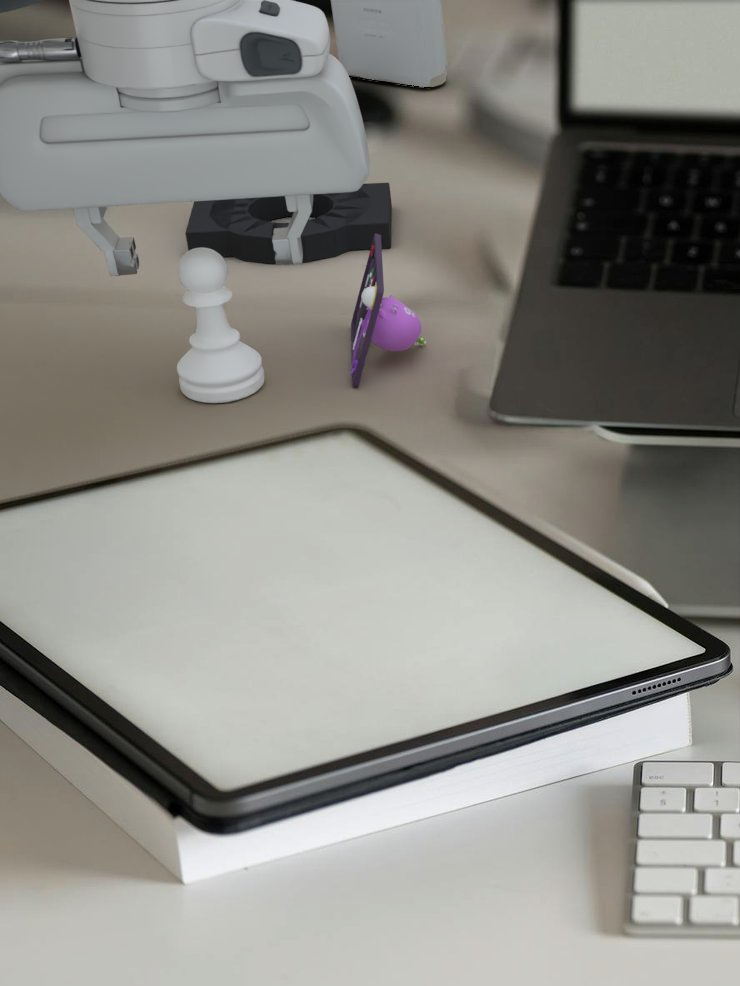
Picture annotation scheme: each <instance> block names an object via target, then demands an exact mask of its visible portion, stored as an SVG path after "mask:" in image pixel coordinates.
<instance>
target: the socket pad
mask: <svg viewBox="0 0 740 986" xmlns="http://www.w3.org/2000/svg"><path fill="white" fill-rule="evenodd" d="M390 187H391V185H390V182H372V183H363V185H362V186H361V187H360V189H359V190H357V191H355V192H345V193H328V194H313V197H314V198H313V207H312V212H311V214H310V217H311V218H309V219H308V221H307V223H306V225H305V227H304V229H303V232H302V234H301V236H300V237H301V243H302V250H303V259H302V263H308V262H309V263H310V262H313V261H319V260H323V259H327V258H332V257H337V256H339V255H342V254H344V253H346V252H348V251H360V250H362V251H363V250H371V246H372V242H373V238H374V235H375V234H379V235H381V246H382V249H391V248H392V225H393V224H392V220H393V219H392V218H393V215H392V214H393V213H392V212H393V205H392V195H391V188H390ZM293 213H294V212H289V211H288V210H287V205H286V199H285V196H277V197H260V198H243V199H227V200H210V201H193V203H192V208H191V211H190V215H189V219H188V223H187V225H186V230H185V240H186V245H187V252H188V251H189V250H191V249H194V248H209V249H212V250H214V251H216V252H217V253H219V254H220V255H221V256H222V257H223V258H226V257H227V258H228V257H232V258H235V259H239V260H241V261H245V262H254V263H262V264H272V265H275V264H276V260H275V254H276V252H275V251H274V248H273V242H272V238H273V235H274V234H273V232H274V228H285V227H288V225H289V222H275V221H272V220H278V219H282V218H288V217H292V216H293ZM312 217H313V218H312ZM276 265H277V264H276Z"/></svg>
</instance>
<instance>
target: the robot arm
mask: <svg viewBox="0 0 740 986" xmlns="http://www.w3.org/2000/svg"><path fill="white" fill-rule="evenodd" d="M44 1H45V0H0V14H1V13H3V14H4V13H7V12H12V11H17V10H20V9H23V8H26V7H30V6H32V5H36V4H38V3H41V2H44ZM68 3H69V6H70V7H69V8H70V11H71V17H72V20H73V25H74V29H75V35H76V36H75V37H62V38H60V37H59V38H46V39H40V40H34V41H33V40H32V41H20V40H2V41H0V194H1V196H2V198H3V199H4V200H6V201H7V202H8V203H9V204H10V205H12V206H13V207H14V208H15V209H16V210H18V211H19V212H39V211H40V212H41V211H55V210H73V213H74V214H73V215H74V218H75V222H76V226H77V227H78V228H79V229H80V231H82V232H83V233H84V234H85V236H86V237H88V239H90V241H92V243H93V244H94V245H95V246H96V247H97V248H98V249H99V250H100V251H103V254H104V258H105V262H106V267H107V271H108V275H109V276H110V277H120V276H130V275H138V270H139V268H140V261H139V255H138V253H136V249H137V246H136V245H137V244H136V241H135V237H134V236H128V237H120V236H119V234H118V233H117V232H116V231H115V230H114V229H113V228H112V227H111V226H110V224H109V223H108V222H107V221H106V220H105V219H104V216H105V214H106V211H107V209H108V207H122V206H125V207H126V206H141V205H156V204H159V205H160V204H173V203H174V204H175V203H188V202H189V203H190V202H192V203H194V201H210V200H227V199H243V198H260V197H277V196H285V199H286V205H287V210H288V211H289V212H294V213H293V216H291V218H290V220H289V222H288V223H289V225H288V227H285V228H274V232H273V234H274V235H273V238H272V242H273V248H274V251H275V252H276V254H275V260H276V266H287V265H288V266H289V265H302V264H303V262H302V259H303V250H302V243H301V237H300V236H301V234H302V232H303V229H304V227H305V225H306V223H307V221H308V220H310V217H311V216H310V214H311V212H312V207H313V198H314V197H313V194H328V193H345V192H355V191H357V190H359V189H360V187H361V186H362V185H363V184H365V182H366V180H367V179H368V178H369V175H370V170H371V162H370V161H371V159H370V153H369V146H368V139H367V135H366V131H365V124H364V120H363V116H362V112H361V109H360V105H359V101H358V98H357V95H356V92H355V89H354V86H353V83H352V80H351V77H349V75H348V73H347V71H346V70H345V68H344V67H343V65H342V64H341V63H340V62H339V59H338V58H336V56H334V55H333V54H331V53H330V49H331V35H330V27H329V22H328V19H327V17H326V15H325V12H324V11H322V9H321V8H319V7H317V6H315V5H311V4H308V3H304V2H300V1H296V0H68Z"/></svg>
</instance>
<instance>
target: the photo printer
mask: <svg viewBox="0 0 740 986" xmlns="http://www.w3.org/2000/svg"><path fill="white" fill-rule="evenodd" d="M330 5H331V12H332V19H333V27H334V36H335V43H336V50H337V57H338V61H339V62H340V63H341V64H342V65H343V67H344V68H345V70H346V71H347V73H348V75H356V76H360V77H363V78H367V79H372V80H374V79H376V80H377V79H388V80H389V81H390V80H392V81H395V82H397V83H400V84H401V83H403V84H408V85H410V84H411V85H412V86H411V87H414V86H419V87H418V88H424V87H428V86H429V85H430V83H429V82H430V80H431V79H432V78H434V77H436V76H438V75H441V74H442V73H444V71H445V67H446V66H447V67H448V60H447V50H446V49H447V48H446V42H445V40H446V39H445V31H444V22H443V21H444V20H443V11H442V1H441V0H330ZM372 80H371V81H372ZM400 84H399V85H400ZM413 85H414V86H413Z"/></svg>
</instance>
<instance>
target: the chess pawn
mask: <svg viewBox="0 0 740 986" xmlns="http://www.w3.org/2000/svg"><path fill="white" fill-rule="evenodd" d="M228 274H229V268H228V265H227V263H226V260H225V259H224V257H222V256H221V255H220V254H219V253H217V252H216V251H214V250H212V249H209V248H194V249H191V250H189V251H188V250H187V251H186V252H185V253H184V254H182V255H181V257H180V259H179V260H178V264H177V276H178V279H179V280H180V283H181V284H182V286H183V287H184V288H185V289H187V290H186V291H185V292H184V294H183V295H182V299H181V300H182V302H183V304H185V305H186V306H188V307H191V308H195V315H196V330H195V332H193V333H192V334H191V336H190V337H189V340H188V342H189V344H190V346H191V347H190V349H188V351H186V353H185V354H184V355H182V357H181V358H180V360H179V361H178V362H177V366H176V372H177V375H178V376H179V377H178V384H179V388H180V391H181V393H182V394H183V395H184V396H185V397H186V398H188V399H190V400H193V401H194V402H198V403H204V404H223V403H224V404H225V403H230V402H235V401H240V400H242V399H245V398H247V397H249V396H252V395H254V394H255V393H256V392H258V391H259V390H260V389H261V388H262V387H263V385H264V383H265V376H266V375H265V370H264V367H263V365H262V363H263V358H262V356H261V354H260V353H259V351H257V350H255V349H254V348H253V347H251V346H249V345H248V344H246V343H244V342H242V341H240V339H241V333H240V332H239V330H237V329H235V328H234V327H231V326H230V324H229V321H228V318H227V315H226V312H225V309H224V304H227V303H228V302H229V301H230V300H231V299H232V298H233V292H232V291H231V290H230V289H229V288H228V287H227V286H225V284H226V282H227V280H228Z"/></svg>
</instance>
